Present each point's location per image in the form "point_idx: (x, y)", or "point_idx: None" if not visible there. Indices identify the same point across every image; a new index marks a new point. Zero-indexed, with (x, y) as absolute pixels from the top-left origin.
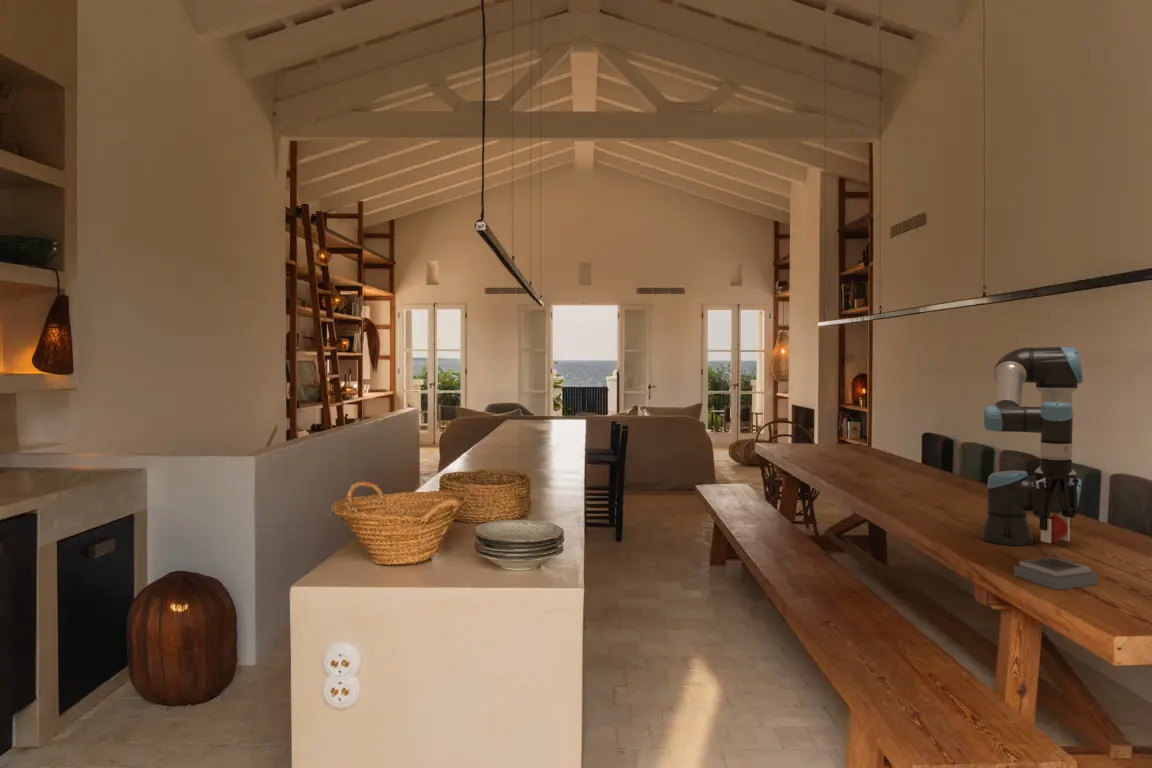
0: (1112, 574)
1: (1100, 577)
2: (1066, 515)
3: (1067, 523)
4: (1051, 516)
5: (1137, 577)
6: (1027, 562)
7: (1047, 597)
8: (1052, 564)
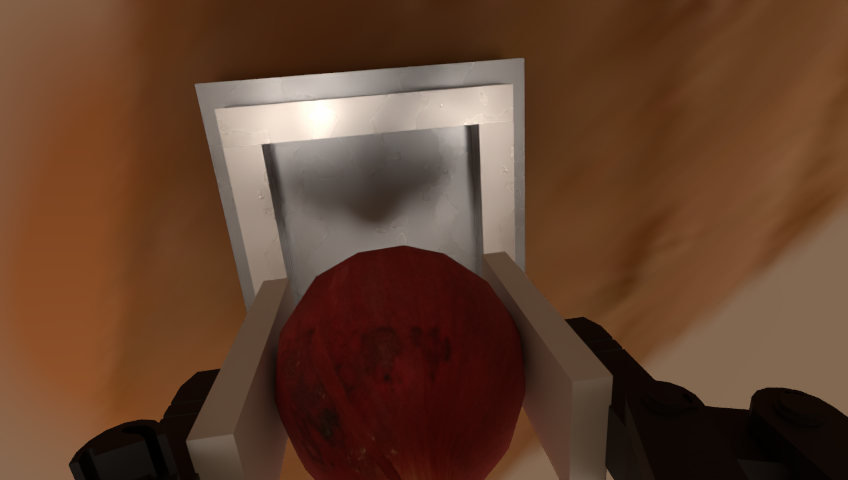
0: (720, 191)
1: (625, 219)
2: (618, 462)
3: (538, 435)
4: (373, 456)
5: (765, 254)
6: (237, 162)
7: (151, 416)
8: (455, 131)
